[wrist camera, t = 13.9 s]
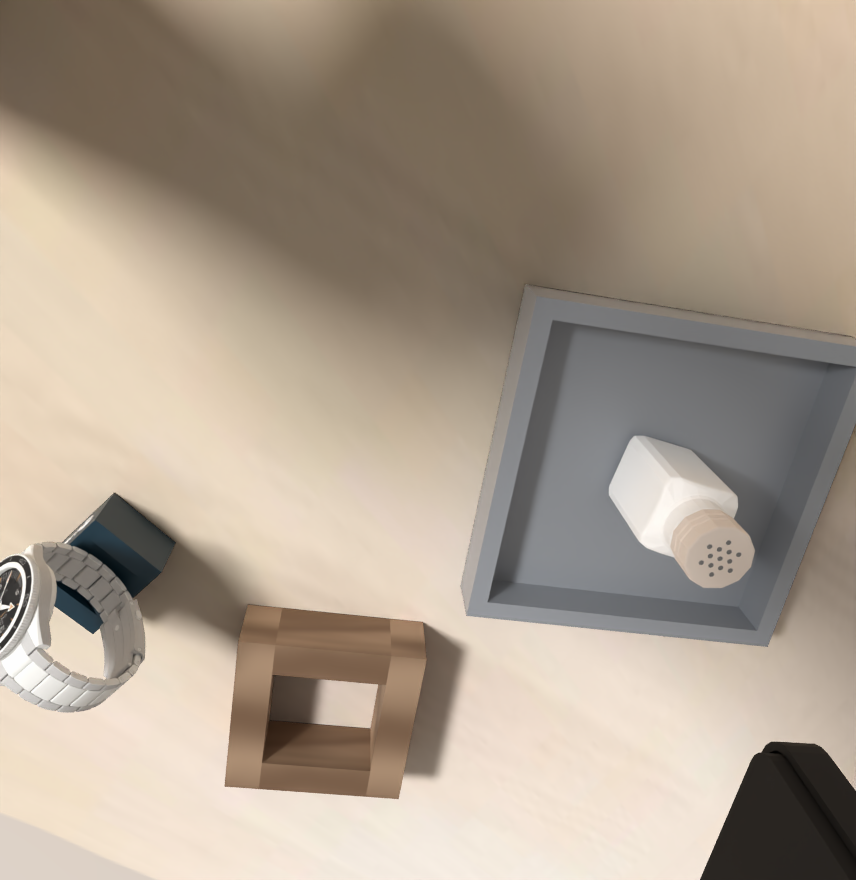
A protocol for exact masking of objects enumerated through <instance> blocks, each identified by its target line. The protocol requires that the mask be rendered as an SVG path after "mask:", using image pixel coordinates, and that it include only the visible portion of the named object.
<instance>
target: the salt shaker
mask: <svg viewBox="0 0 856 880" xmlns="http://www.w3.org/2000/svg"><path fill="white" fill-rule="evenodd" d="M609 496H610V498H611V499H612V501H613V502H614V504H615V505H616V507H617V509H618V510H619V512H620V513H621V515H622V516H623V518H624V519H625V521H626V522H627V524H628V525H629V527H630V529H631V530H632V532H633V533H634V535H635V536H636V538H637V539H638V541H639V542H640V543H641V544H642V545H643V546H645V547H646V548H647V549H650V550H653V551H656V552H658V553H661V554H664V555H668V556H671V557H674V558H675V560H676V561H677V562H678V564H679V565H680V567H681V568H682V569H683V570H684V572H685V574H686V575H687V577H688V578H689V579H690V580H691V581H693V582H695V583H696V584H698V585H700V586H701V587H703V588H723V587H725V586H728V585H730V584H732V583H734V582H737V581H739V580H740V579H741V578H742V576H743V575H744V574H745V573H746V572H747V571H748V570H749V569H750V568H751V565H752V561H753V557H754V553H755V549H754V546H753V544H752V541H751V538H750V536H749V535H748V534H747V532H746V531H745V530H744V529H743V528H742V527H741V526H740V525H739V524H738V523H737V522H736V521H735V520H734V517H735V514H736V512H737V509H738V497H737V495H736V494H735V493H734V492H733V491H732V490H731V489H730V488H729V487H728V486H727V485H726V484H725V483H724V482H723V481H722V480H721V479H720V478H719V477H718V476H717V475H716V474H715V473H714V472H713V471H712V470H711V469H710V468H709V467H708V466H707V465H706V464H705V463H704V462H703V461H702V460H701V459H700V458H699V457H698V456H697V455H696V454H695V453H694V452H692V451H691V450H690V449H687V448H684V447H680V446H677V445H674V444H670V443H667V442H664V441H660V440H657V439H654V438H650V437H647V436H633V438H632V439H631V440H630V441H629V443H628V446H627V448H626V450H625V452H624V454H623V457H622V459H621V461H620V463H619V465H618V468H617V470H616V472H615V474H614V476H613V479H612V481H611V483H610V485H609Z"/></svg>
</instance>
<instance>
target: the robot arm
mask: <svg viewBox="0 0 856 880" xmlns="http://www.w3.org/2000/svg"><path fill="white" fill-rule="evenodd" d="M700 880H856V791H855V789H854V788H853V787H852V785H851V784H850V783H849V781H848V780H847V779H846V777H845V776H844V775H843V773H842V772H841V771H840V769H839V768H838V767H837V765H836V764H835V763H834V761H833V760H832V759H831V757H830V756H829V755H828V753H827V752H826V751H825V750H824V749H823V748H822V747H820V746H818V745H816V744H806V743H789V742H770V743H769V744H767V745H766V746H765V747H764V749H763V751H762V752H761V753H757V754H756V755H754V757H753V758H752V760H751V762H750V764H749V767H748V769H747V771H746V774H745V776H744V778H743V781H742V783H741V785H740V788H739V790H738V792H737V795H736V797H735V799H734V802H733V804H732V806H731V809H730V811H729V813H728V816H727V818H726V820H725V823H724V825H723V827H722V830H721V832H720V834H719V837H718V839H717V841H716V844H715V846H714V848H713V851H712V853H711V855H710V858H709V860H708V862H707V865H706V867H705V869H704V872H703V874H702V876H701V879H700Z"/></svg>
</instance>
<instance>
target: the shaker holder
mask: <svg viewBox="0 0 856 880" xmlns="http://www.w3.org/2000/svg"><path fill="white" fill-rule="evenodd" d="M426 661H427V657H426V647H425V637H424V628H423V622H415V621H405V620H395V619H385V618H375V617H365V616H355V615H345V614H336V613H326V612H316V611H306V610H296V609H286V608H276V607H267V606H257V605H248V606H247V610H246V614H245V617H244V621H243V625H242V629H241V633H240V637H239V640H238V649H237V660H236V670H235V681H234V692H233V702H232V713H231V724H230V734H229V745H228V756H227V766H226V777H225V787H239V788H253V789H267V790H281V791H295V792H309V793H323V794H337V795H351V796H364V797H378V798H392V799H399V794H400V789H401V784H402V779H403V774H404V769H405V764H406V759H407V755H408V750H409V745H410V740H411V735H412V730H413V725H414V720H415V715H416V710H417V705H418V700H419V695H420V691H421V686H422V681H423V676H424V671H425V666H426ZM274 675H281V676H292V677H303V678H314V679H325V680H336V681H347V682H358V683H369V684H378V690H377V695H376V701H375V706H374V712H373V718H372V723H371V729H366V728H354V727H342V726H330V725H318V724H305V723H293V722H281V721H269V718H270V709H271V701H272V692H273V684H274Z"/></svg>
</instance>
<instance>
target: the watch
mask: <svg viewBox="0 0 856 880" xmlns="http://www.w3.org/2000/svg"><path fill="white" fill-rule="evenodd" d="M175 543H176V542H174V541H173V540H172V539H171V538H169V537H168V536H167V535H166V534H165V533H163V532H162V531H161V530H160V529H158V528H157V527H156V526H155V525H153V524H152V523H151V522H150V521H149V520H147V519H146V518H145V517H144V516H142V515H141V514H140V513H139V512H137V511H136V510H135V509H134V508H133V507H131V506H130V505H129V504H128V503H126V502H125V501H124V500H123V499H121V498H120V497H119V496H118V495H117V494H115V493H113V494H112V495H111V496H110V497H109V498H108V499H107V500H106V501H105V502H104V503H103V504H102V505H101V506H100V507H99V508H98V509H97V510H96V511H95V512H93V513H92V514H91V515H90V516H89V517H88V518H87V519H86V520H85V521H84V522H83V523H82V524H81V525H80V526H79V527H78V528H77V529H76V530H75V531H73V532H72V533H71V534H70V535H69V536H68V537H67V538H66V539H65V540H64V541H63V542H62V543H59V542H57V543H55V542H42V543H41V544H40V543H37V544H32V545H30V546H28V547H27V548H26V549H25V550H24V551H23V552H22V553H21V554H13V555H10V556H8V557H7V558H5V559H3V560H2V561H1V562H0V686H6V687H7V688H8V689H10V690H11V691H12V692H14V693H15V694H19V696H20V697H21V698H23V699H24V700H26V701H28V702H30V703H32V704H34V705H37V706H39V707H41V708H44V709H48V710H52V711H56V710H57V711H58V712H75V711H76V712H79V711H85V710H88V709H91V708H92V707H96V706H98V705H99V704H101V703H102V702H103V701H105V700H106V699H107V698H108V697H109V696H110V695H112V694H113V693H114V692H115V691H116V690H117V689H119V688H120V687H121V686H122V685H123V684H124V683H125V682H127V681H128V680H129V679H130V678H131V677H132V676H133V675H134V674H135V673H136V671H137V670H138V667H139V666H140V664H141V663H142V662H143V660H144V659H145V632H144V625H143V620H142V614H141V612H140V608H139V605H138V601H137V599H135V600H133V598H134V597H135V596H136V595H137V594H138V593H139V592H140V591H141V590H143V589H144V588H145V587H146V586H147V585H148V584H149V583H150V582H151V581H152V580H154V579H155V578H156V577H157V576H158V575H159V574H160V573H161V572H162V570H163V568H164V566H165V564H166V562H167V560H168V558H169V556H170V554H171V552H172V549H173V547H174V545H175ZM54 606H55V607H57V608H58V609H59V610H61V611H62V612H63V613H65V614H66V615H68V616H69V617H70V618H72V619H73V620H74V621H76V622H77V623H78V624H80V625H81V626H83V627H84V628H85V629H87V630H88V631H89V632H91V633H92V634H94V633H95V632H96V631H97V630H98V629H99V628H100V631H101V635H102V640H103V646H104V655H105V665H104V676H105V677H106V679H105V680H103V679H97V678H88V679H87V677H86V676H83V675H80V674H78V673H76V672H71V673H70V670H69V669H67V668H66V667H64V666H63V665H61V664H60V663H59V662H57V661H55V662H53V658H52V657H51V656H49V655H48V654H47V653H46V652H45V651H44V650H43V649H48V648H49V647H50V646H51V634H50V626H49V621H50V619H51V616H52V613H53V608H54ZM52 662H53V663H52ZM23 689H24V690H23Z"/></svg>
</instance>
